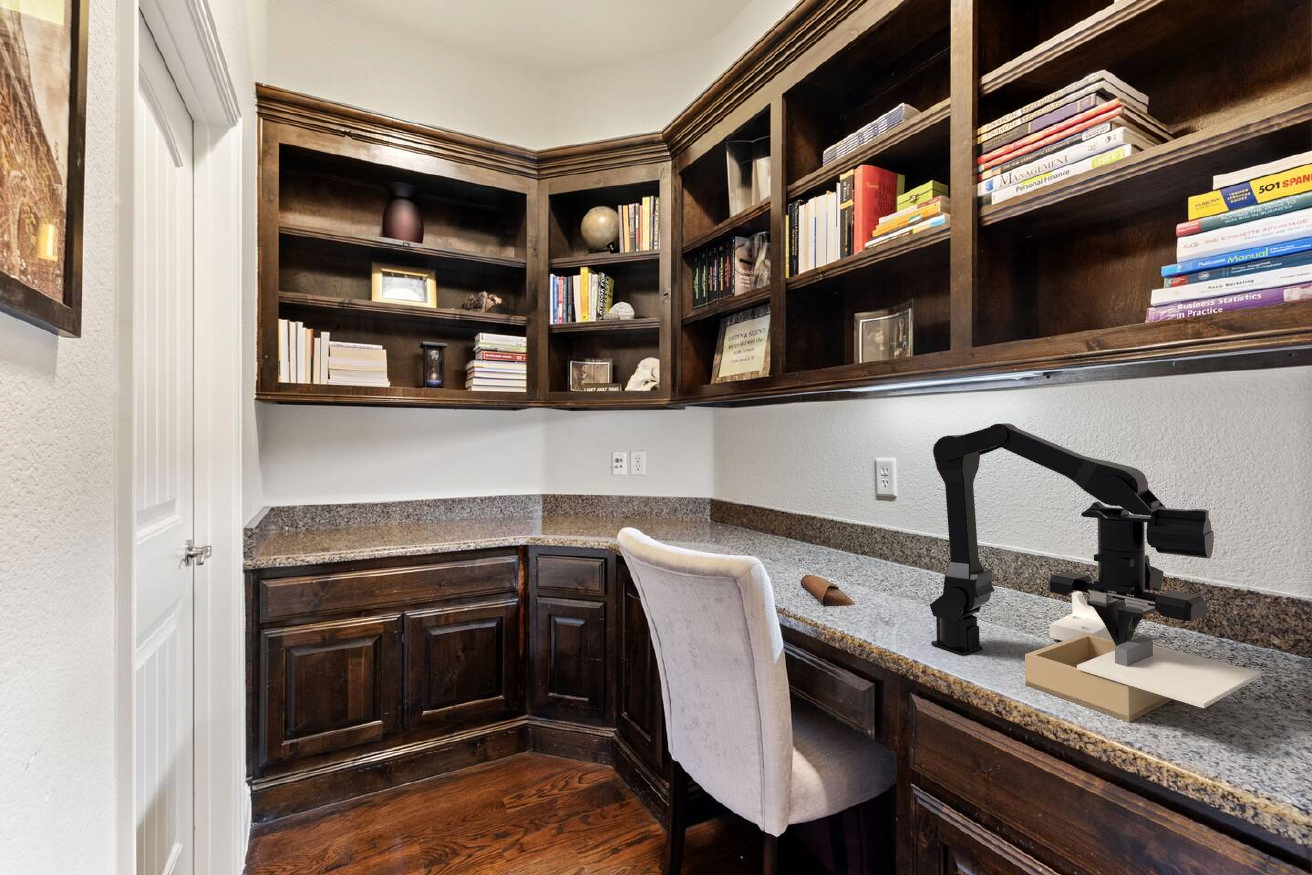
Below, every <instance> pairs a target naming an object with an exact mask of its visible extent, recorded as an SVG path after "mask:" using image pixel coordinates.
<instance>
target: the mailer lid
mask: <svg viewBox="0 0 1312 875" xmlns="http://www.w3.org/2000/svg"><path fill="white" fill-rule="evenodd" d="M1077 669H1078V670H1081V671H1085V672H1088V673H1091V674H1094V675H1098V676H1101V677H1104V678H1107V679H1110V680H1114V681H1117V682H1120V683H1123V684H1127V685H1130V686H1133V687H1136V688H1140V689H1143V690H1146V691H1149V692H1153V693H1156V694H1159V695H1162V696H1165V697H1169V698H1172V699H1173V700H1176V701H1179V702H1182V703H1185V704H1188V705H1191V706H1195V707H1198V708H1201V709H1206V708H1207V707H1209V706H1211V705H1212V704H1214V703H1216V702H1218V701H1219V700H1221V699H1223V698H1225V697H1227V696H1229V695H1230V694H1232V693H1235V692H1236V691H1237V690H1239V689H1241V688H1243V687H1245V686H1247V685H1249V684H1250V683H1252V682H1253V681H1255V680H1257V679H1259V678H1261V677H1262V672H1261V671H1258V670H1256V669H1251V668H1246V667H1243V666H1238V665H1234V664H1231V663H1228V662H1227V663H1226V662H1223V661H1218V660H1215V659H1210V658H1207V657H1203V656H1199V655H1195V654H1191V653H1187V652H1182V651H1181V650H1180V651H1179V650H1175V649H1171V648H1167V647H1163V646H1159V645H1156V644H1154V639H1153V638H1149V637H1145V636H1138V637H1136V638H1133V639H1131V641H1128V642H1125V643H1123V644H1120V645H1118V646H1115V650H1114V651H1112V652H1109V653H1107V654H1104V655H1101V656H1099V657H1096V658H1094V659H1091V660H1089V661H1086V662H1084V663H1081V664H1078V665H1077Z"/></svg>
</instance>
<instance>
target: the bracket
mask: <svg viewBox="0 0 1312 875" xmlns="http://www.w3.org/2000/svg"><path fill="white" fill-rule="evenodd" d="M1083 593H1084V592H1081V591H1076V590H1075V591H1074V592H1072V593H1071V610H1072V611H1071V612H1072V613H1070V614H1068V615H1066V616H1064V617H1061V618H1059V619H1058V620H1057V619H1056V621H1053V622H1051V623H1049V638H1050V639H1054V640H1059V641H1061V642H1062V641H1065V640H1068V639H1071V638H1073V637H1076V636H1079V635H1082V634H1089V635H1093V636H1097V637H1101V638H1105V639H1109V640H1112V641H1113V639H1112V637H1111V635H1110V634H1109V632H1108V630H1107V628H1106V626H1105V624H1104V623H1103V621H1102V620H1101V618H1100V617H1099V615H1098V614H1097V612H1096V611H1095V609H1094V608H1093V607H1092V606H1088V605H1087V600H1086V599H1085V597H1084V594H1083Z"/></svg>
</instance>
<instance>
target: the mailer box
mask: <svg viewBox="0 0 1312 875" xmlns="http://www.w3.org/2000/svg"><path fill="white" fill-rule="evenodd" d="M1115 646H1116V645H1115V643H1114V641H1112V640H1109V639H1105V638H1101V637H1097V636H1093V635H1089V634H1082V635H1079V636H1076V637H1073V638H1071V639H1068V640H1065V641H1062V640H1061V641H1059V642H1057V643H1054V644H1051V645H1047V646H1045V647H1043V648H1040V649H1037V650H1034V651H1030V652H1028V653H1025V654H1024V656H1025V658H1024V662H1025V663H1024V665H1025V666H1024V669H1025V671H1024V672H1025V673H1024V674H1025V676H1024V677H1025V686H1026V687H1029V688H1032V689H1035V690H1036V691H1040V692H1044V693H1046V694H1048V695H1052V696H1055V697H1057V698H1059V699H1062V700H1066V701H1068V702H1070V703H1074V704H1077V705H1080V706H1082V707H1084V708H1089V709H1091V710H1094V711H1095V712H1096V711H1097V712H1099V713H1101V714H1105V715H1107V716H1110V717H1113V718H1117V719H1119V720H1121V721H1124V722H1127V723H1130V722H1132V721H1134V720H1136V719H1138V718H1140V717H1142V716H1144V715H1145V714H1147V713H1149V712H1151V711H1153V710H1155V709H1157V708H1160V707H1161V706H1163V705H1165V704H1167V703H1169V702H1171V701H1173V700H1174V699H1172V698H1169V697H1165V696H1162V695H1159V694H1156V693H1153V692H1149V691H1146V690H1143V689H1140V688H1136V687H1133V686H1130V685H1127V684H1123V683H1120V682H1117V681H1114V680H1110V679H1107V678H1104V677H1101V676H1098V675H1094V674H1091V673H1088V672H1085V671H1081V670H1078V669H1077V665H1078V664H1081V663H1084V662H1086V661H1089V660H1091V659H1094V658H1096V657H1099V656H1101V655H1104V654H1107V653H1109V652H1112V651H1114V650H1115Z"/></svg>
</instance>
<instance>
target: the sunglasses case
mask: <svg viewBox="0 0 1312 875" xmlns="http://www.w3.org/2000/svg"><path fill="white" fill-rule="evenodd" d="M800 586H801V588H803V589H805V590H806V591H808V592H809V593H810V594H811V595H812V596H813V597H814V598H815V599H816V600H817V601H819V603H820V604H821V605H823V606H824V607H825V606H833V607H849V606H855V605H856V604H855V603H854V600H852V599H851V598H850V597H849V596H848V595H847V594H846V593H845V592H843V591H842V590H841V589H840V587H839V586H838V585H837V584H835V583H833V582H831V581H829V580H827V579H825V578H823V577H820V576H816V575H813V574H805V575H804V576H802V578H800Z"/></svg>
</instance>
